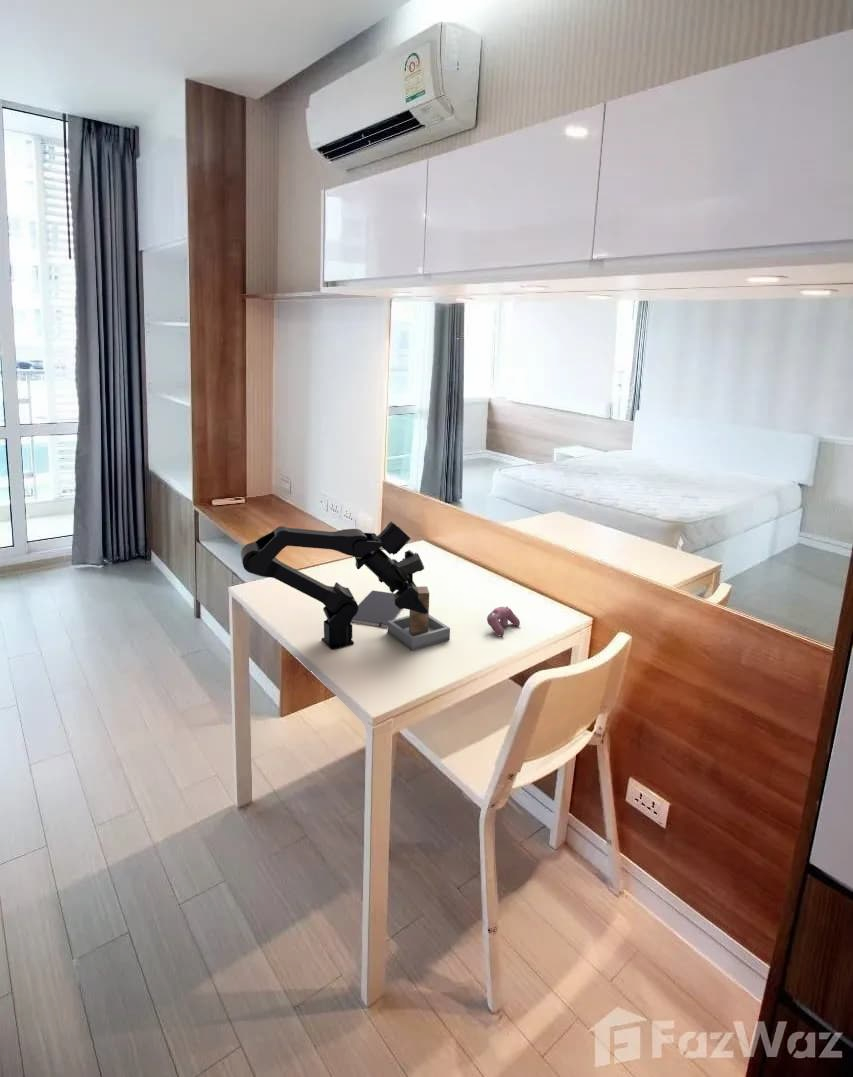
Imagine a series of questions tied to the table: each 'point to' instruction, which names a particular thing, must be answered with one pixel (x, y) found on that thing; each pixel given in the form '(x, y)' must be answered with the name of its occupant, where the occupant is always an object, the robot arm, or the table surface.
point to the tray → (433, 636)
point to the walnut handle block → (420, 614)
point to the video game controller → (501, 619)
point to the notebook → (377, 609)
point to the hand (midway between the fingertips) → (424, 605)
